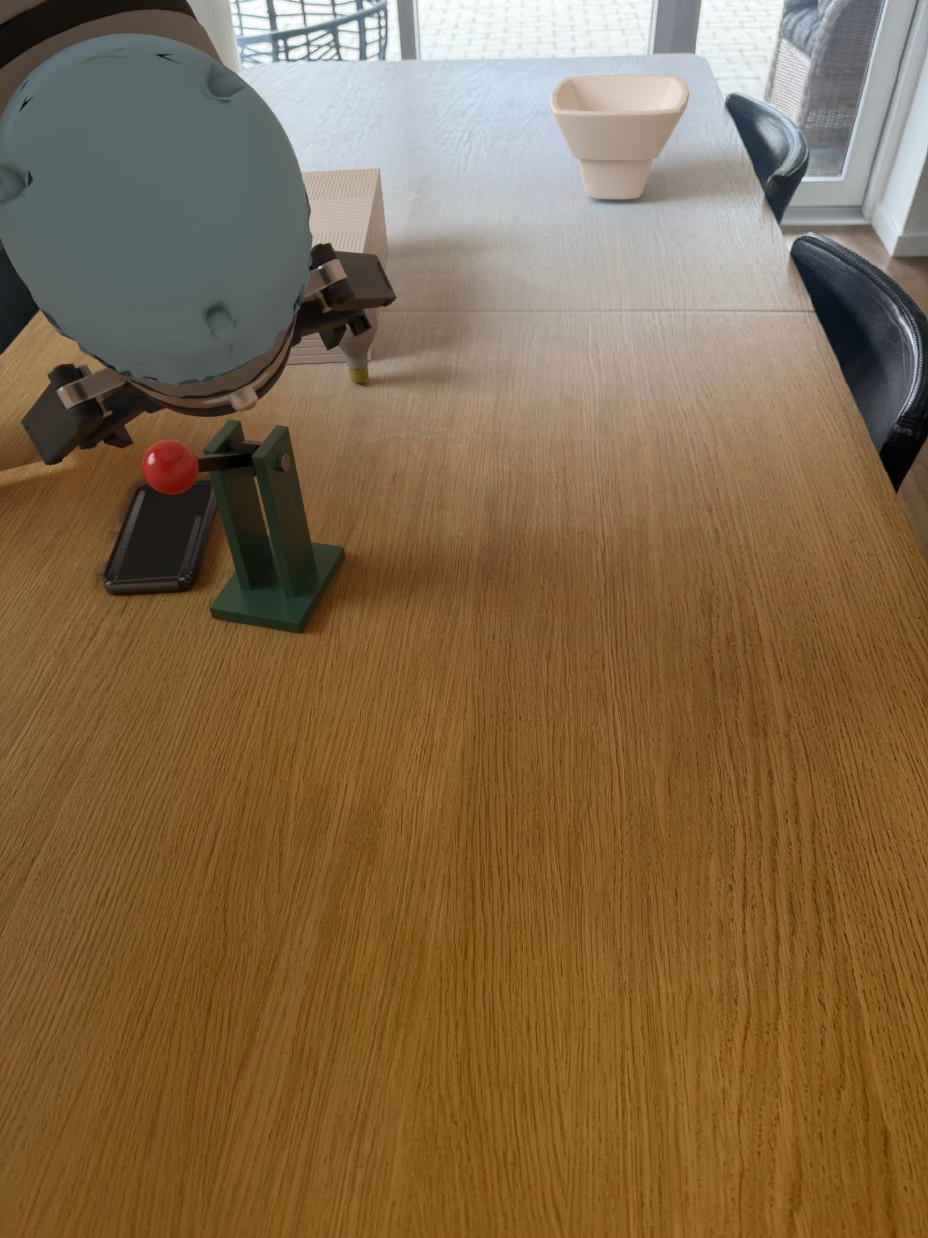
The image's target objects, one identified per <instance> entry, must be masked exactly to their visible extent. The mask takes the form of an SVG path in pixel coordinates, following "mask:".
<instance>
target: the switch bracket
mask: <svg viewBox="0 0 928 1238" xmlns="http://www.w3.org/2000/svg"><path fill="white" fill-rule="evenodd" d="M243 429H244V428H243V425H242V422H241V420H239V419H230V418H229V419H228V420H227V421H226V422H225V423H224V425H223V426H222V427H221V428H220V429H219V431H218V432H216V434H215V435H214V436H213V437H212V439H210V441H209V442H208V443H207V444H206V446H205V447H204V448H203V449H202V453H203V455H207V454H218V453H228V452H229V442H230V441H242V440H246V438H245V435H244V433H245V432H244V430H243ZM289 429H290V428H289V426H288V425H279V424H276V425H275V426H274V427H273V428H272V430H271V431H270V432H269V434H268V435H267V436H266V437H265V439H264V440H263V441H262V442H263V443H262V444H261V445H260V447H259V448H258V449H257V450H256V452H255V453H254V454H253V455H252V460H253V464H254V468H255V473H256V477H251V476H244V475H236V474H229V473H228V469H225V470H218V471H210V472H208V475H209V480H211V482H212V486H213V490H214V493H215V497H216V501H217V508H218V511H219V515H220V518H221V522H222V525H223V530H224V534H225V536H226V540H227V544H228V549H229V551H230V555H231V558H232V562H233V566H234V569H235V570H234V571H233V573H232V575H231V576H230V578H229V579H228V580H227V582H226V584H225V585H224V586H223V588H222V589H221V590H220V592H219V593H218V594H217V596H216V597H215V599H214V600H213V602H212V603H211V604H210V606H209V607H208V609H209V612H210V615H211V618H212V619H216V620H221V621H228V622H232V623H233V622H234V623H238V624H245V625H250V626H255V627H262V628H268V629H273V630H279V631H284V632H289V633H296V634H302V633H303V630H304V629H305V627H306V625H307V623H308V622H309V620H310V618H311V617H312V615H313V613H314V612H315V610H316V608H317V607H318V606H319V604H320V601H321V600H322V598H323V596H324V595H325V593H326V591H327V590H328V588H329V586H330V585H331V583H332V581H333V579H334V578H335V576H336V575H337V573H338V571H339V569H340V568H341V566H342V564H343V562H344V561H345V559H346V556H347V555H346V551H345V546H341V545H334V544H328V543H322V542H321V543H320V542H314V541H312V540H311V539H312V538H311V533H310V529H309V523H308V518H307V514H306V509H305V503H304V500H303V494H302V488H301V483H300V479H299V474H298V469H297V464H296V458H295V454H294V449H293V444H292V439H291V434H290V430H289ZM255 478H256V480H257V484H256V480H255ZM256 485H258V489H259V492H258V489H257V486H256ZM259 494H260V496H259ZM259 497H260V498H261V502H260V498H259ZM261 503H262V506H261ZM262 507H263V509H262ZM263 510H264V514H263ZM264 515H265V518H264ZM265 519H266V522H265ZM266 524H267V526H266ZM266 527H268V530H267V528H266ZM268 531H269V535H268Z"/></svg>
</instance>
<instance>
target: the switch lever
mask: <svg viewBox="0 0 928 1238" xmlns="http://www.w3.org/2000/svg"><path fill="white" fill-rule="evenodd" d="M262 443H263V441H257V440H250V439H245V440H242V441H230V442H229V452H228V453H218V454H207V455H204V454H200V455H199V454H198V455H197V454H196V452H195V451H194V450H193V449H192V448H191V447H190V446H189V445H188V444H186V443H185V442H183V441H181V440H178V439H173V438H166V439H161V440H158V441H156V442H154V443H152V445H150V446H149V447H148V448H147V449H146V450H145V452H144V454H143V456H142V460H141V470H142V471H141V472H142V475H143V477H144V479H145V481H146V483H148V484H149V485H150V486H151V487H152V488H153V489H155V490H156V491H158V492H160V493H163V494H167V495H177V494H181V493H183V492H185V491H187V490H188V489H190V488H191V487H192V486H193V485H194V483H195V482H196V480H198V478H199V474H201V473H209V472H210V471H218V470H225V469H228V473H229V474H236V475H244V476H251V477H254V478H257V477H256V473H255V468H254V464H253V460H252V455H253V454H254V453H255V452H256V450H257V449H258V448H259V447H260V445H261V444H262Z"/></svg>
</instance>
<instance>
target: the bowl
mask: <svg viewBox="0 0 928 1238" xmlns="http://www.w3.org/2000/svg"><path fill="white" fill-rule="evenodd" d="M690 95H691V93H690V91H689V88H688V85H687V83H686V82H685V81H684V80H683V79H682V78H681V77H680V76H679V75H672V74H670V75H669V74H656V73H655V74H654V73H652V74H592V75H591V74H589V75H578V76H576V75H575V76H566V77H565V78H563V79H562V80H561V81H559V82H558V83H557V84H556V85H555V87H554V88H553V90H552V92H551V93H550V96H549V97H550V98H549V99H550V100H549V107H550V111H551V114H552V115H553V117H554V120H555V122H556V124H557V126H558V128H559V131H560V133H561V135H562V137H563V139H564V142H565V143H566V145H567V148H568V150H569V153H570V154H571V156H572V158H573V159H577V161H578V165H579V171H580V174H581V179H582V185H583V189H584V193H585V195H586V197H587V198H588V199H595V200H633V199H635V200H636V199H639V198H640V197H641V196H642V194H643V192H644V189H645V186H646V184H647V180H648V177H649V174H650V170H651V168H652V164H653V162H654V159H657V158H658V157H659V156H660V154H661V153H662V152H663V150H664V148H665V146H666V144H667V143H668V141H669V140H670V137H671V136H672V134H673V132H674V130H675V129H676V127H677V125H678V123H679V121H680V119H681V118H682V116H683V114H684V113H685V111H686V109H687V107H688V103H689V100H690Z"/></svg>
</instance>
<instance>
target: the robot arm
mask: <svg viewBox="0 0 928 1238" xmlns="http://www.w3.org/2000/svg"><path fill="white" fill-rule="evenodd" d="M216 49H217V48H216V47H215V45H214V44H213V42H212V40H211V38H210V36H209V34H208V32H207V30H206V28H205V27H204V26H203V25H202V24H201V23H200V22H199V20H198V18H197V17H196V14H195V13H194V11H193V8H192V6H191V5H190V3H189V2H188V0H0V241H1V244H2V246H3V248H4V250H5V253H6V255H7V257H8V259H9V261H10V263H11V264H12V266H13V268H14V270H15V271H16V273H17V276H18V277H19V278H20V280H21V282H22V283H23V286H24V288H26V290H27V291H28V293H29V295H30V296H31V298H32V300H33V301H34V303H35V304H36V306H37V307H38V309H39V310H40V311H41V313H42V314H43V315H44V317H45V318H46V320H47V322H49V323H48V324H50V325H51V326H52V327H53V329H54V330H55V331H56V332H57V333H58V334H59V335H60V336H62V337H65V338H67V339H69V340H71V341H74V342H76V343H77V346H78V349H79V351H80V352H82V353H83V354H86V355H87V356H88V357H91V358H93V359H94V360H97V361H98V362H99V363H100V364H101V365H103V366H104V368H102V369H100V370H97V371H95V372H93V373H92V371H91V370H90V368H89V366H88V364H87V363H81V364H79V365H77V366H76V365H75V364H74V363H62V364H59V365H56V366H55V367H53V368H52V370H51V371H50V372H48V373H47V376H46V377H47V378H48V380H49V382H50V383H49V384H48V385H47V387H46V388H45V389H44V391H42V392H41V394H40V396H39V397H38V398H37V400H36V401H35V402H34V403H33V405H32V406H31V407H30V409H29V410H28V412H26V414H25V416H23V418H22V419H21V421H20V423H21V425H22V426H23V428H24V430H25V432H26V434H27V435H28V438H29V439H30V440H31V442H32V444H33V446H34V448H35V450H36V451H37V453H38V455H39V456H40V458H41V460H42V461H43V463H44V465H45V466H55V465H58V464H60V463H62V462H63V460H64V459H65V458H66V457H69V455H70V454H71V453H72V452H73V451H74V450H75V449H77V447H78V448H79V450H80V451H85V450H88V451H90V450H92V449H94V448H96V447H98V444H99V443H101V442H103V443H104V445H108V446H112V447H114V448H117V449H121V450H123V449H125V448H127V447H129V446H131V445H134V441H133V439H132V437H131V435H130V434H129V432H128V430H127V428H126V425H127V424H129V423H130V422H132V421H133V420H134V419H136V418H137V417H139V416H141V415H142V414H143V413H147V414H149V415H150V414H151V415H152V414H154V413H157V412H159V411H163V410H165V409H167V410H169V411H172V412H175V413H178V414H182V415H185V416H190V417H196V418H215V417H224V416H227V415H231V414H232V415H233V414H235V413H238V412H245V411H251V410H253V408H255V406H256V405H257V403H258V401H260V400H261V399H262V398H264V396H266V395H267V394H268V393H269V392H270V391H271V390H272V389H273V387H275V385H276V384H277V382H278V381H279V380H280V378H281V376H282V374H283V373H284V370H285V368H286V366H287V365H288V364H287V361H288V358H289V355H290V351H291V348H292V347H294V346H295V345H297V344H299V343H300V342H301V340H302V338H301V337H304V336H307V335H311V334H314V333H319V335H320V337H321V339H322V341H323V343H324V345H325V347H326V349H327V351H328V350H330V349H332V348H335V347H337V346H338V345H339V343H340V341H341V339H342V337H343V335H344V334H345V332H346V330H347V327H346V324H348V325H349V327H350V329H351V331H352V333H353V336H354V337H355V336H358V335H360V334H362V333H364V332H366V331H368V330H370V329H371V328H372V326H371V324H370V322H369V320H368V318H367V316H366V313H365V311H364V309H369V308H379V309H380V308H387V307H389V306H391V305H392V304H393V303H394V302H395V301H396V299H397V295H396V292H395V291H394V289H393V286H392V284H391V282H390V280H389V278H388V276H387V274H386V270H385V271H384V269H383V267H382V265H381V263H380V261H379V259H378V257H377V255H376V254H365V253H354V252H343V251H334V249H333V247H332V245H331V243H326V244H322V243H320V244H317V245H315V246H314V247H313V248H312V239H313V235H312V234H311V232H310V227H309V219H310V214H311V208H310V204H309V200H308V195H307V192H306V188H305V185H304V182H303V179H302V174H301V172H302V171H301V167H300V163H299V160H298V157H297V155H296V152H295V149H294V146H293V144H292V142H291V141H290V138H289V136H288V134H287V133H286V130H285V128H284V127H283V125H282V124H281V122H280V120H279V118H278V117H277V116H276V114H275V113H274V111H273V109H271V108H270V105H269V104H268V103H267V102H266V101H265V99H263V97H262V96H261V95H260V94H259V93H258V91H256V90H255V89H254V88H253V87H252V86H251V85H250V84H249V83H248V82H247V81H246V80H244V79H243V78H242V77H241V76H240V75H239V74H237V72H235V71H234V70H232V69H230V68H229V67H227V66H226V65H225V64H224V63H223V61H222V59H221V57H220V55H219V52H218V51H217V50H216ZM311 248H312V249H311Z"/></svg>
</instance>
